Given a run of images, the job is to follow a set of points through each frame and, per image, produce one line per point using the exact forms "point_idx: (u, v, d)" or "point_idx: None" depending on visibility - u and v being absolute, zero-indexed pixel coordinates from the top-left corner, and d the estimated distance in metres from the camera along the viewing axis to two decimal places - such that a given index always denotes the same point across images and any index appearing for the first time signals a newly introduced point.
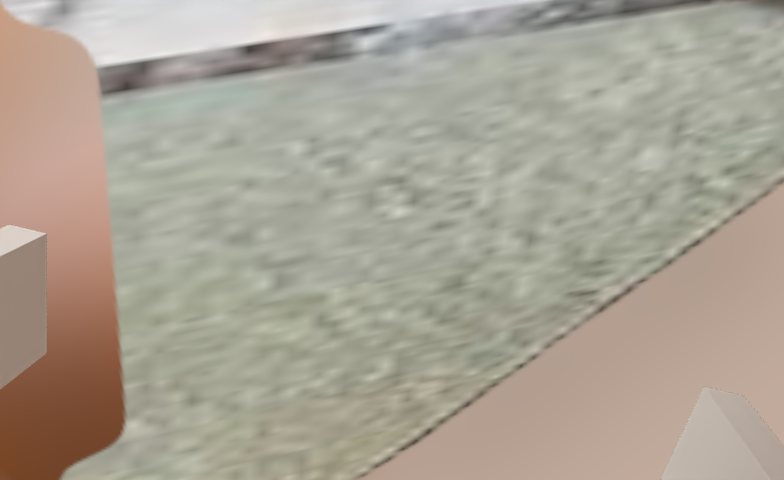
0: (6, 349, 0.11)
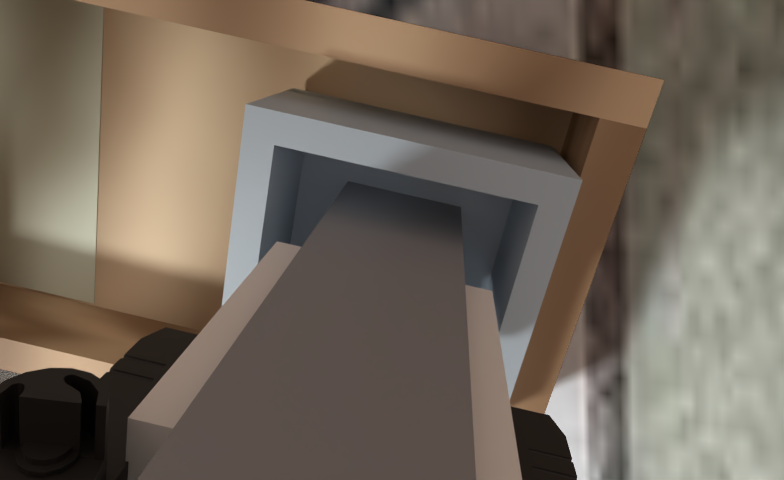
0: None
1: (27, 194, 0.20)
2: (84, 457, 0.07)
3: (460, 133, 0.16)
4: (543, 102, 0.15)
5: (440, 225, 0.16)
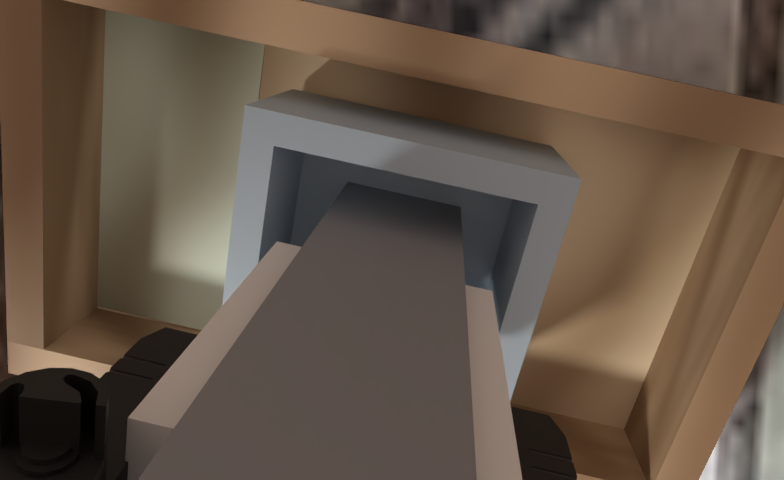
0: None
1: (170, 229, 0.20)
2: (84, 457, 0.07)
3: (459, 133, 0.16)
4: (743, 145, 0.14)
5: (440, 225, 0.16)
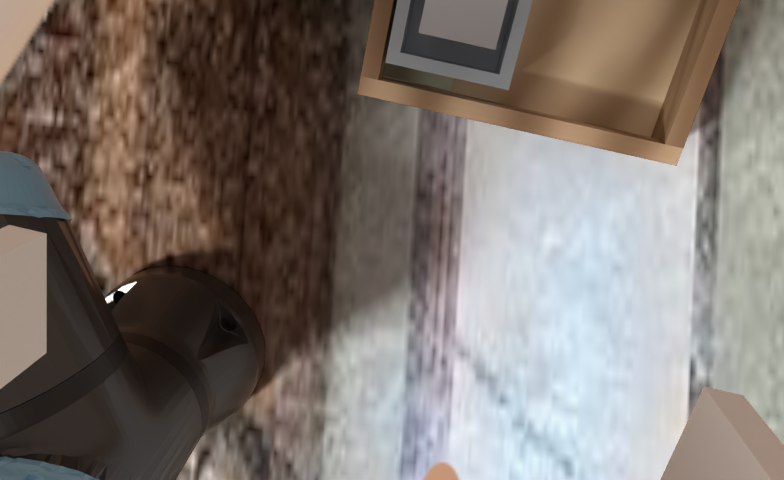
0: (6, 349, 0.11)
1: None
2: None
3: None
4: None
5: None
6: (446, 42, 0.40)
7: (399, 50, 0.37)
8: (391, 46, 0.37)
